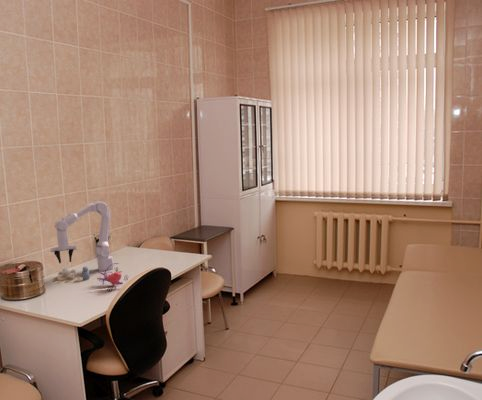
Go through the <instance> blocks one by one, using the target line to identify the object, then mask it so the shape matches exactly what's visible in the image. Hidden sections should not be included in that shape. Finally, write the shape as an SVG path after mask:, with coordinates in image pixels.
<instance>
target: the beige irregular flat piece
mask: <svg viewBox="0 0 482 400" xmlns="http://www.w3.org/2000/svg"><path fill="white" fill-rule="evenodd" d="M61 272H62V270H60V271H59V272H58V273H57V280H56V281H55V282H54V285H57V284H58V285H59V284H65V283H66V284H67V283H75V282H85V281H87V280H83V278H75V277H76V275H77V273H76V269H71V274H62V273H61ZM91 279H92V278H91V277H90V279H89V280H88V281H91Z"/></svg>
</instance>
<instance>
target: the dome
mask: <svg viewBox="0 0 482 400" xmlns="http://www.w3.org/2000/svg"><path fill="white" fill-rule="evenodd" d="M71 270H72V269H71V268H69V267H64V268H62V270H61V271H62V272H61V273H62V274H71Z"/></svg>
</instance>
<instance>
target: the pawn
mask: <svg viewBox="0 0 482 400" xmlns="http://www.w3.org/2000/svg"><path fill="white" fill-rule="evenodd" d="M81 274H82V279H83V280H86V281H90V280H91V279H90V278H91V277H90V270H89V267H88V266H84V267H82V271H81ZM89 279H90V280H89Z"/></svg>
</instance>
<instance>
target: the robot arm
mask: <svg viewBox="0 0 482 400" xmlns="http://www.w3.org/2000/svg"><path fill="white" fill-rule="evenodd" d="M91 212H97V213H98V214H99V215H100V216H101V219H100V229H99V230H100V231H99V238H98V242H97V245H96V247H95V249H94V252H95V255H97V256H96V258H97V259H96V260H97V267H98V271H99V272H103V271H104V272H105V270H106V269H107V268H108V267H109V266H110V265H111V264H113V265H111V266H110V267H109V268H108V269H107V270H108V271H110V270H111V271H112V270H114V268H115V266H114V265H115V264H114V258H113V255H110V254H111V250H110V245H109V235H110V226H111V225H110V224H111V217H112V216H111V215H112V214H111V211H110V208H109V205H108V204H107V203H105V201H100V200H94V201H92V202H90V203H88V204H87V205H85V206H84V207H83V208H81V209H79V210H78V211H77V212H76V213H75V212H71V213H70V212H69V213H68V214H67V215H66V216H65V217H62V218H61V219H59V220H56V222H55V224H54V228H55V229H56V238H57V247H52V248H50V253H53V254H54V255H55V257H56V258H57V260H58V263H59V264H61V263H62V260H61V252H63V251H64V252H65V251H67V252H68V261H69V263H71V262H72V257H73V253H74V250H78V247H77V245H71V246H70V245H69V236H68V228H69V227H70V226H71V225H74V224H75V223H76V222H78V221H79V218H81V217H83V216H85V215H86V214H89V213H91Z"/></svg>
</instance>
